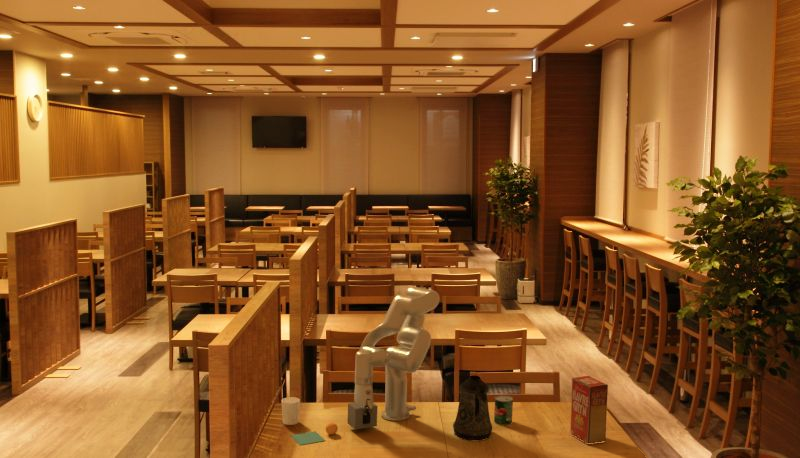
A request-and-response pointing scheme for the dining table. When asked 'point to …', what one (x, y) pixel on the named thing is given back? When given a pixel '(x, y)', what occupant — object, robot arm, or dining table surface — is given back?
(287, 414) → the white cup
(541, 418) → the dining table surface
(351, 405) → the grey rectangular box
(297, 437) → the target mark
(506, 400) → the canned tomato
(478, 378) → the beer stein
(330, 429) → the ball
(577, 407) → the food packaging
